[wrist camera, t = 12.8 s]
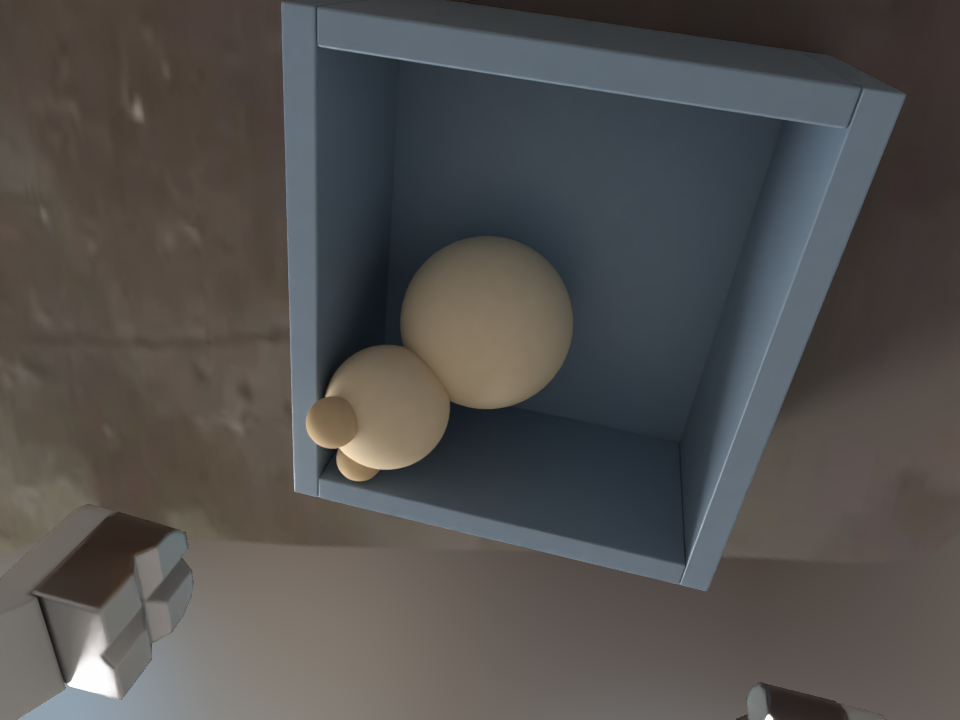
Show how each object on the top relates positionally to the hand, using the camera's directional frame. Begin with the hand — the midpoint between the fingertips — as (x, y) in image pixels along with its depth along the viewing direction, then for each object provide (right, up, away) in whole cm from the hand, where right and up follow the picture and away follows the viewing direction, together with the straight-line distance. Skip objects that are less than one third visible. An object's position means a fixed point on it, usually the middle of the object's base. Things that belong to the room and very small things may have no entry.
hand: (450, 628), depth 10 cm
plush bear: (+2, +7, +12) cm, 14 cm away
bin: (+3, +7, +13) cm, 15 cm away
